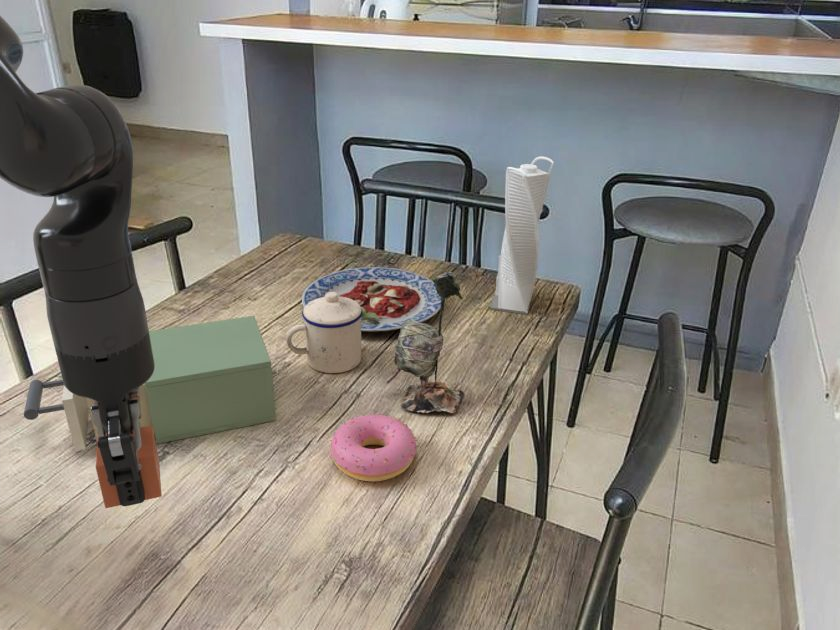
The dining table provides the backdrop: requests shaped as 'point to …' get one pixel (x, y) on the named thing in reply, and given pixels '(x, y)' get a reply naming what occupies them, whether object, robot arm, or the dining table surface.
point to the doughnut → (373, 461)
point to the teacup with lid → (330, 333)
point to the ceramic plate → (380, 295)
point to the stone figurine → (426, 357)
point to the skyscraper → (520, 237)
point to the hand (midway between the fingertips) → (132, 482)
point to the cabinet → (209, 379)
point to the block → (148, 471)
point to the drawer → (75, 410)
